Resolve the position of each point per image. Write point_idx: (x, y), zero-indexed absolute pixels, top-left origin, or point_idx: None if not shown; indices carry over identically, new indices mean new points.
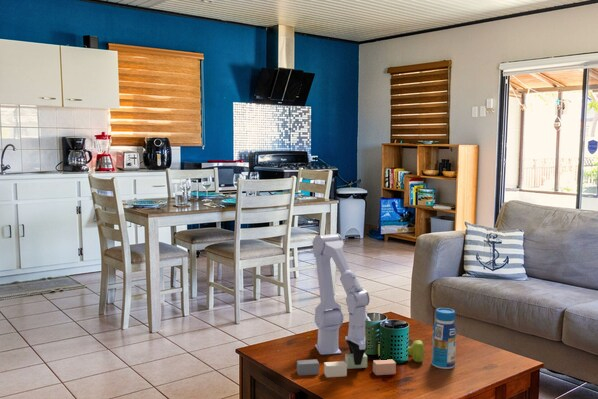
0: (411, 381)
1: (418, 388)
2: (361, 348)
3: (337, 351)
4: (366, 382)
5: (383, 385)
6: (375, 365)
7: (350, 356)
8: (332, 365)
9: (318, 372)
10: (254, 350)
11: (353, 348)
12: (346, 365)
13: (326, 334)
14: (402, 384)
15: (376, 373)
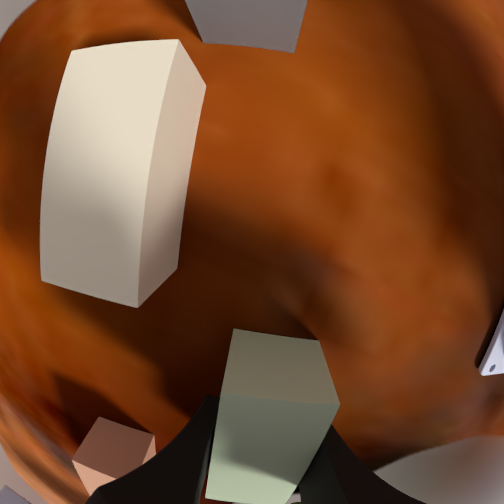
0: (53, 459)
1: (11, 435)
2: (6, 499)
3: (498, 356)
4: (18, 320)
5: (4, 367)
6: (90, 456)
7: (245, 422)
8: (64, 114)
9: (200, 32)
10: None
11: (88, 501)
12: (44, 274)
13: None
14: (25, 425)
15: (95, 424)
